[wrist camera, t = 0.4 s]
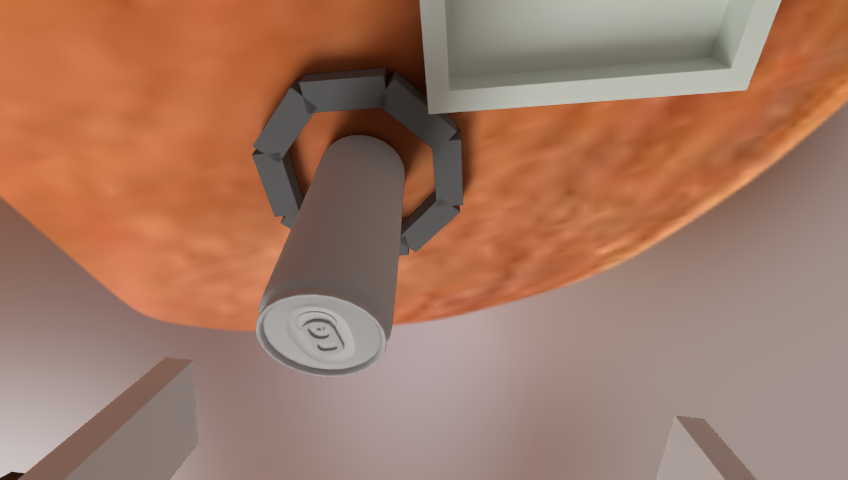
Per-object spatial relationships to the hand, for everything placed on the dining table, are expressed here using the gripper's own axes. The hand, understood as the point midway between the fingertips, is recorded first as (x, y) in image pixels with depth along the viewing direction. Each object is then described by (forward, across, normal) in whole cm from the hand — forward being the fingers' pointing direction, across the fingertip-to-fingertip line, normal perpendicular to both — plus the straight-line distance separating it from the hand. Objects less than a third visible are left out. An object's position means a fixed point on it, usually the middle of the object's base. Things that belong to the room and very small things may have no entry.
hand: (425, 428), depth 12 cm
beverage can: (+14, -5, +5) cm, 16 cm away
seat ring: (+14, -5, +5) cm, 16 cm away
